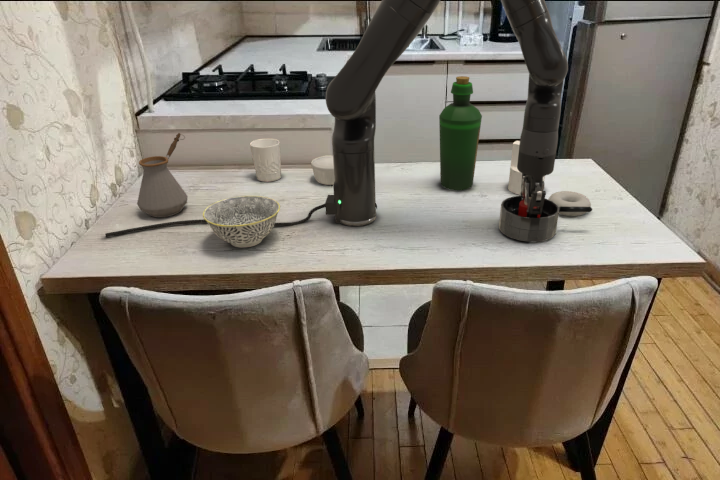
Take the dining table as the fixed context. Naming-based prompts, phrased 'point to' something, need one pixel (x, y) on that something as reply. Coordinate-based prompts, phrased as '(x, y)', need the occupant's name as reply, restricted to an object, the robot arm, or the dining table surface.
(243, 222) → the bowl
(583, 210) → the handle
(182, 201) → the coffee pot
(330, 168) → the ramekin
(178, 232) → the dining table surface
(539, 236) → the grey round hollow bowl
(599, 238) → the dining table surface
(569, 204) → the donut
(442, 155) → the bottle
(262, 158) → the beige cylinder
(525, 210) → the ketchup bottle
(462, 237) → the dining table surface
